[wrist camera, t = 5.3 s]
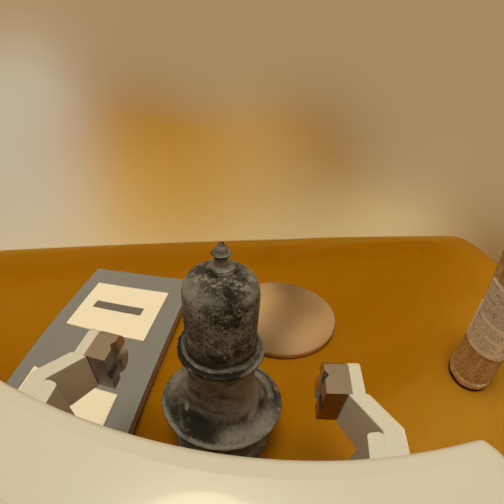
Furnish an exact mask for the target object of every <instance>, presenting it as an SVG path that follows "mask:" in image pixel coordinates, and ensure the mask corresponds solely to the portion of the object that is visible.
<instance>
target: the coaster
mask: <svg viewBox="0 0 504 504" xmlns="http://www.w3.org/2000/svg"><path fill="white" fill-rule="evenodd" d="M260 291H261V299H260V309H259V319H258V329H257V332H258V333H259V334H260V335H261V337H262V339H263V341H264V344H265V354H264V356H266V357H271V358H278V359H292V358H299V357H304V356H307V355H310V354H312V353H315V352H317V351H318V350H320V349H321V348H323V347H324V346H325V345H326V344H327V343H328V341H329V340H330V338H331V336H332V333H333V330H334V327H335V317H334V313H333V311H332V309H331V308H330V306H329V305H328V304H327V302H326V301H325V300H323V299H322V298H321V297H320V296H318V295H317V294H315V293H313V292H312V291H309V290H307V289H305V288H302V287H299V286H296V285H291V284H286V283H261V284H260Z"/></svg>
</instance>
